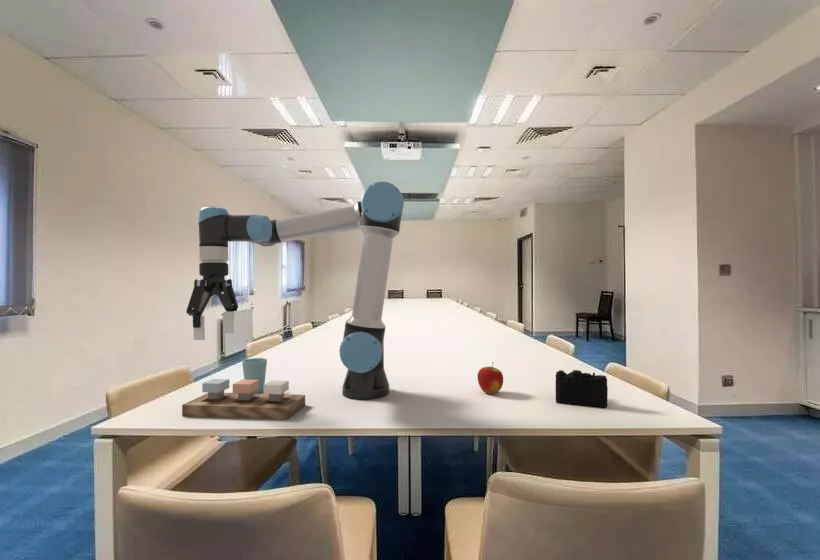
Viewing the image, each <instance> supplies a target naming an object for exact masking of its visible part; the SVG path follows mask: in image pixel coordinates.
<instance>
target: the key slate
mask: <svg viewBox="0 0 820 560" xmlns="http://www.w3.org/2000/svg"><path fill="white" fill-rule="evenodd" d="M201 387H202V388H201V389H202V393H208V399H220V398H222V397H224V393H225V390H228V389H230V379H229V378H212V379H210V380H207V381H205V382H202V385H201Z"/></svg>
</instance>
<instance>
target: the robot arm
mask: <svg viewBox="0 0 820 560" xmlns="http://www.w3.org/2000/svg"><path fill="white" fill-rule="evenodd" d="M401 192H402V191H400V189H399V187H397V186H396V185H395V184H394V183H391V182H388V181H375V182H374V183H371V184H370V185H368V186H367V187H366V188H365V190H364V191H363V193H362V195H361V200H360V201H357V202H356V203H355V204H354V205H350V206H344V207H338V208H334V209H328V210H322V211H316V212H310V213H305V214H300V215H293V216H288V217H281V218H277V219H271V220H270V218H269V216H267V215H263V214H261V215H260V214H259V215H258V214H245V215H244V214H243V215H242V214H241V215H240V214H239V215H238V214H236V215H231V214H230V215H229V212H228V210H227V209H226V208H223V207H216V206H215V207H214V206H205V207H202V208H201V209H199V212H198V213H199V214H198V222H197V224H198V238H199V239H198V241H199V242H198V243H199V245H198V247H199V253H198V254H199V259H198V260H199V261H200V263H199V264H198V265H199V266H198V272H199V275H200V276H201V277H202V278H195V279H194V282H193V283H194V285H193V288H192V293H191V296H190V298H189V300H188V301H189V302H188V305H187V308H186V311H185V313H186V314H187V315H188V316H189V317H190V316H192V328H193V331H192V332H193V341H204V340H206V338H205V326H206V325H205V324H206V323H205V315H203V314H204V311H205V309H206V308H207V305H208V303H209V302H210V300H211V298H212V297H213V296H217V298H218V299H219V301H220V303H221V305H222V307H223V308H224V310H225V311H223V334H234V312H237V311H238V309H239V304H238V301H237V296H236V295H235V291H234V288H233V280H232V278H226V277H228V276H229V273H230V272H229V264H228V263H227V262H228V261H229V242H248V243H252V244H256V245H260V246H262V247H272V246H275V245H276V244H280V243H284V242H291V241H297V240H302V239H309V238H314V237H319V236H325V235H331V234H337V233H343V232H349V231H354V230H360V231H361V233H362V234H363V237H362V242H361V243H362V245H361V250H360V259H359V263H358V264H359V265H358V271H357V278H356V285H355V293H354V300H353V307H352V313H351V316H350V317H349V318H348V319H346V320H345V325H344V331H343V338H342V341H341V343H340V345H339V350H338V351H339V357H340V358H339V359H340V361H341V363H342V364H343V366H344V367H345V368H346V369H347V372H346V375H345V376H344V377H345V378H344V381H343V384H342V388H341V389H342V395H343V396H344V397H346V398H348V399H354V400H373V399H378V398H382V397H385V396H388V395H389V394H390V383H389V381H388V377H387V374H386V370H385V368H384V367H385V365H384V364H385V354H384V353H385V352H384V350H385V348H384V345H385V342H384V339H385V333H386V328H387V327H386V325H385V323H384V322H383V320H382V317H383V310H384V304H385V297H386V290H387V285H388V284H387V282H388V275H389V268H390V262H391V255H392V254H391V253H392V249H393V248H392V247H393V242H394V241H393V240H394V238H396V237H397V236H398V235H400V228H401V221H402V216H403V209H404V205H405V204H404V203H405V199H404V196H403V195H402V194H403V193H401Z"/></svg>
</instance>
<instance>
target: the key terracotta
mask: <svg viewBox="0 0 820 560" xmlns="http://www.w3.org/2000/svg"><path fill="white" fill-rule="evenodd" d="M257 389H259V380H244V379H241V380H238V381H237V382H234V383H232V393H238V400H250V399H251V398H253V397H254V391H255V390H257Z"/></svg>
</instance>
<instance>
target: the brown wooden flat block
mask: <svg viewBox="0 0 820 560" xmlns="http://www.w3.org/2000/svg"><path fill="white" fill-rule="evenodd" d="M305 406H306V394H291V393H290V394H288V393H287V394H285V393H284V398H283V399H282V400H280V401H269V394H264V393H257V394H255V393H254V397H253V398H251V399H250V400H238V393H233V392H224V397H222V398H220V399H208V392H206V393H204V394H203V395H200V396H198V397H196V398H193V399H192V400H190V401H188V402H186V403H184V404H181V416H182V417H200V418H202V417H203V418H204V417H206V418H207V417H209V418H231V419H232V418H233V419H234V418H237V419H262V420H265V419H268V420H290V419H291V417H293V416H294V415H296V414H297V413H298V412H299V411H300V410H301V409H303V408H304V407H305Z"/></svg>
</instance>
